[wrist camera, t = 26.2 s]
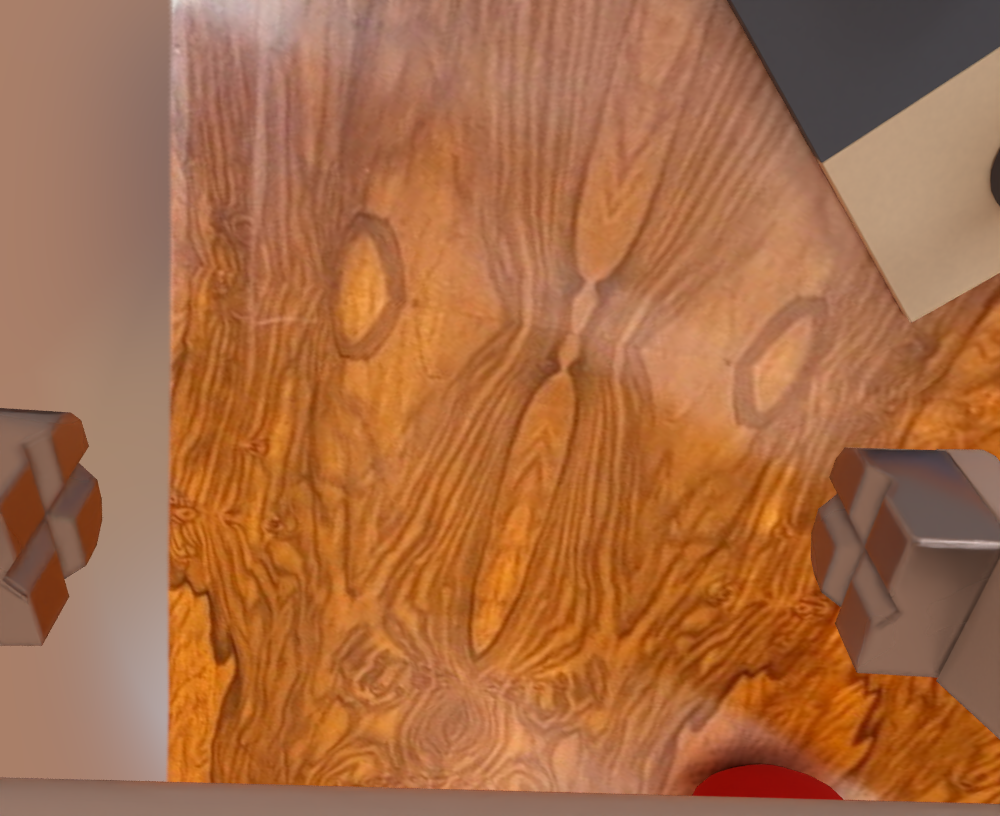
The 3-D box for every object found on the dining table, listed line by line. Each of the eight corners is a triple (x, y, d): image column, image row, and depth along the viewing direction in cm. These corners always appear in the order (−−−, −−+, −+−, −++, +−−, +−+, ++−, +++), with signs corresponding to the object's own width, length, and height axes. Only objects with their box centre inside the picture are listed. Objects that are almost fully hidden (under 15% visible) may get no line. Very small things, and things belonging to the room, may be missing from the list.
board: (1117, -364, 29) (1135, -369, 29) (1248, 116, 38) (1265, 123, 37) (702, -42, 35) (708, -39, 34) (903, 314, 44) (911, 323, 43)
